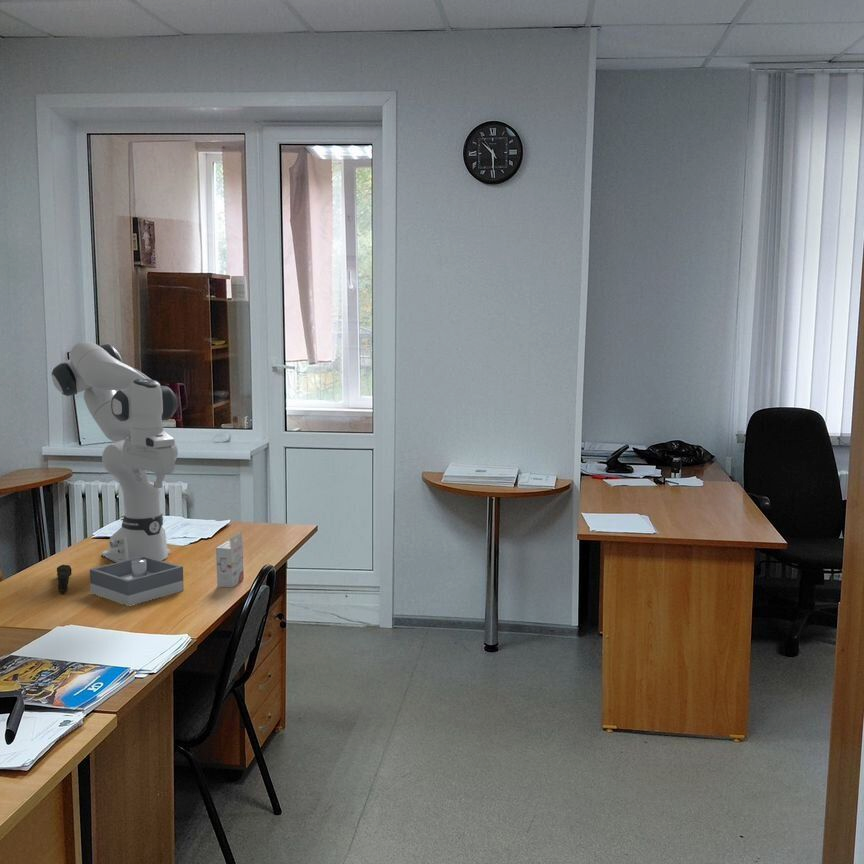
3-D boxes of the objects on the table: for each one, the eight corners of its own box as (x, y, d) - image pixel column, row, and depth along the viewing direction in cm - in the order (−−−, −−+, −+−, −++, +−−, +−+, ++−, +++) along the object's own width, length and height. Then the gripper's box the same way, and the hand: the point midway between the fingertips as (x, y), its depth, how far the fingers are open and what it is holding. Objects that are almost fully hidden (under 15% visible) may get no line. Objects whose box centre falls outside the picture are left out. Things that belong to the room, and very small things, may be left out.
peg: (129, 591, 255) (128, 561, 254) (141, 588, 259) (140, 558, 257) (138, 594, 253) (137, 563, 252) (150, 591, 256) (149, 560, 255)
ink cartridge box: (228, 578, 269) (227, 530, 267) (244, 579, 268) (243, 531, 266) (216, 586, 261) (214, 537, 259) (232, 588, 260) (231, 538, 258)
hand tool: (57, 577, 269) (56, 562, 269) (71, 576, 270) (71, 561, 270) (52, 597, 251) (51, 581, 251) (67, 595, 253) (66, 579, 252)
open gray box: (90, 593, 254) (89, 569, 253) (145, 578, 268) (144, 555, 267) (128, 606, 243) (127, 581, 242) (183, 590, 257) (183, 566, 256)
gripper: (115, 433, 258) (116, 481, 260) (159, 442, 246) (160, 492, 248) (135, 431, 263) (136, 478, 265) (178, 440, 251) (179, 489, 253)
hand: (148, 485), depth 256 cm, fingers open, 8 cm apart
